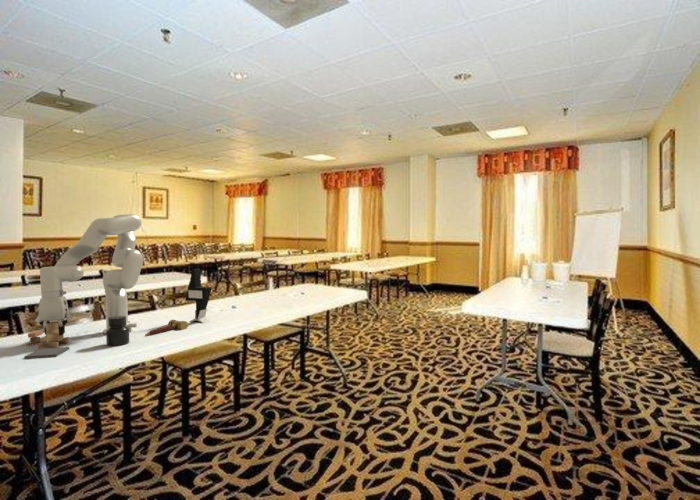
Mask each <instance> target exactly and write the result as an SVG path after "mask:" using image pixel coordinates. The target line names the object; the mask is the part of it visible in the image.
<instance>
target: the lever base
mask: <svg viewBox="0 0 700 500" xmlns="http://www.w3.org/2000/svg"><path fill="white" fill-rule="evenodd" d="M39 343H48V342H47V337H46V335H45V336H42V337H41V336H37V337H31V338H29V342H28V343H26V344H25V345H26V347H27V346H38V344H39Z"/></svg>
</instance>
